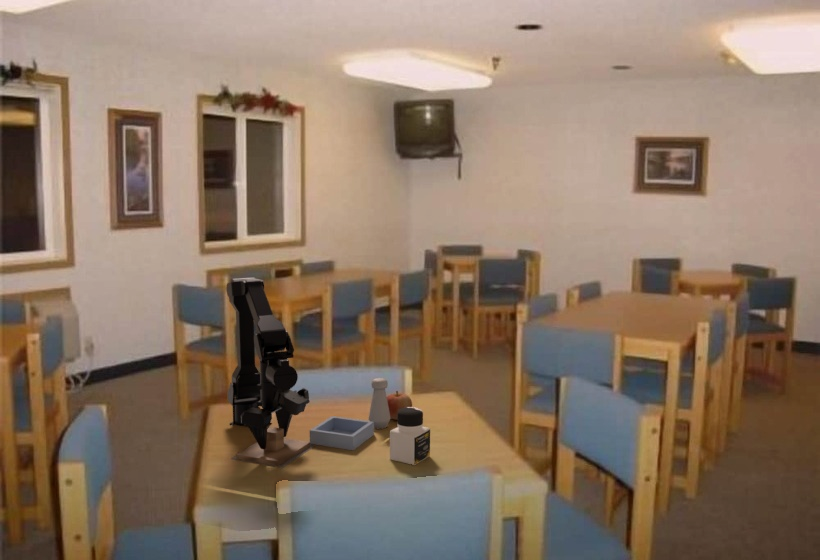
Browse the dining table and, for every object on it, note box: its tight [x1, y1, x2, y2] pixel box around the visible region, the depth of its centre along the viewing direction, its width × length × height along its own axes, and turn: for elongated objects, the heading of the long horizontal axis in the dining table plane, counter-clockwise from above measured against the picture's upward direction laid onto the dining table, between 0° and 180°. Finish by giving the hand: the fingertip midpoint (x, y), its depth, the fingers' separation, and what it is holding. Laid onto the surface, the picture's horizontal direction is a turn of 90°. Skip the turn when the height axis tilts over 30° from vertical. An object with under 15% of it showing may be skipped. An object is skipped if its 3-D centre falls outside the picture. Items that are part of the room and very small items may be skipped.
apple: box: [386, 390, 413, 421], centre depth 211 cm, size 8×8×8 cm
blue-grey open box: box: [309, 415, 375, 451], centre depth 193 cm, size 12×12×4 cm
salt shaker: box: [368, 377, 391, 430], centre depth 204 cm, size 6×6×13 cm
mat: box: [231, 444, 315, 468], centre depth 184 cm, size 14×15×1 cm
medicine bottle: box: [389, 406, 431, 466], centre depth 182 cm, size 7×7×12 cm
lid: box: [235, 426, 311, 466], centre depth 184 cm, size 12×14×6 cm
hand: (273, 442), depth 184 cm, fingers open, 9 cm apart
